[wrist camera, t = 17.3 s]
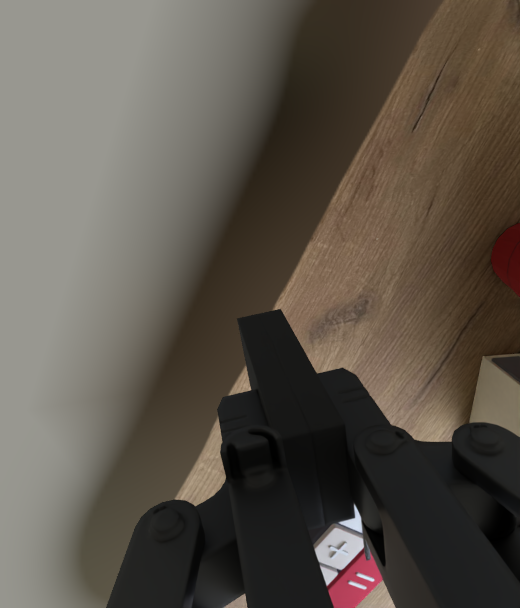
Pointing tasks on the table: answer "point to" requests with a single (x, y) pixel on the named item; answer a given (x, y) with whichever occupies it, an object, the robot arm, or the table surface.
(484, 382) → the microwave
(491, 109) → the table surface
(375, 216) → the table surface
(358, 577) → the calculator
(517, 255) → the plastic cup
